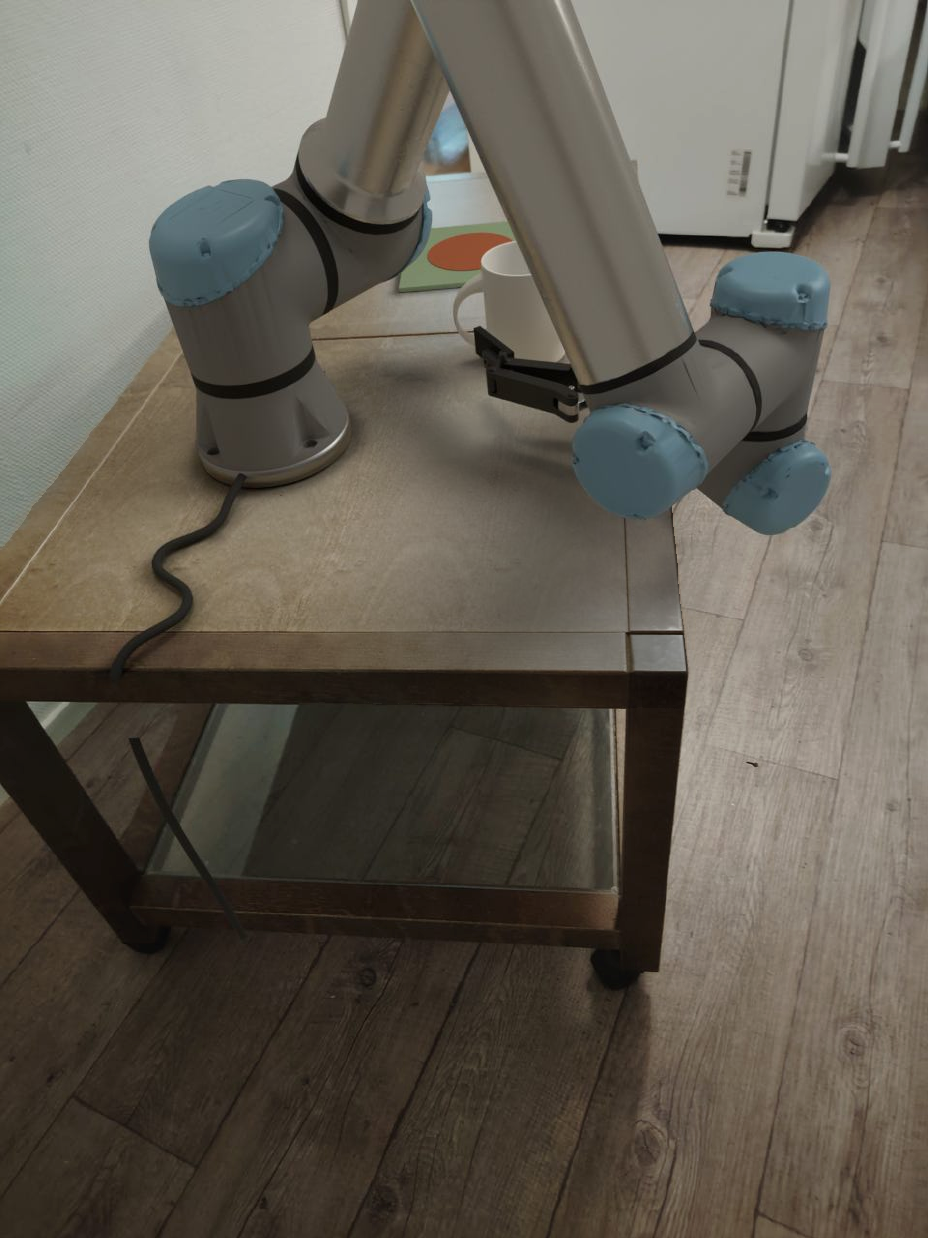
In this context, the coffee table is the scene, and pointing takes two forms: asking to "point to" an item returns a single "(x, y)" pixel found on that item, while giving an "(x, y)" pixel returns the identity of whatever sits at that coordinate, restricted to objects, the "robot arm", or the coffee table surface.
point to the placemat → (453, 256)
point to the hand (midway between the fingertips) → (536, 318)
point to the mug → (512, 306)
